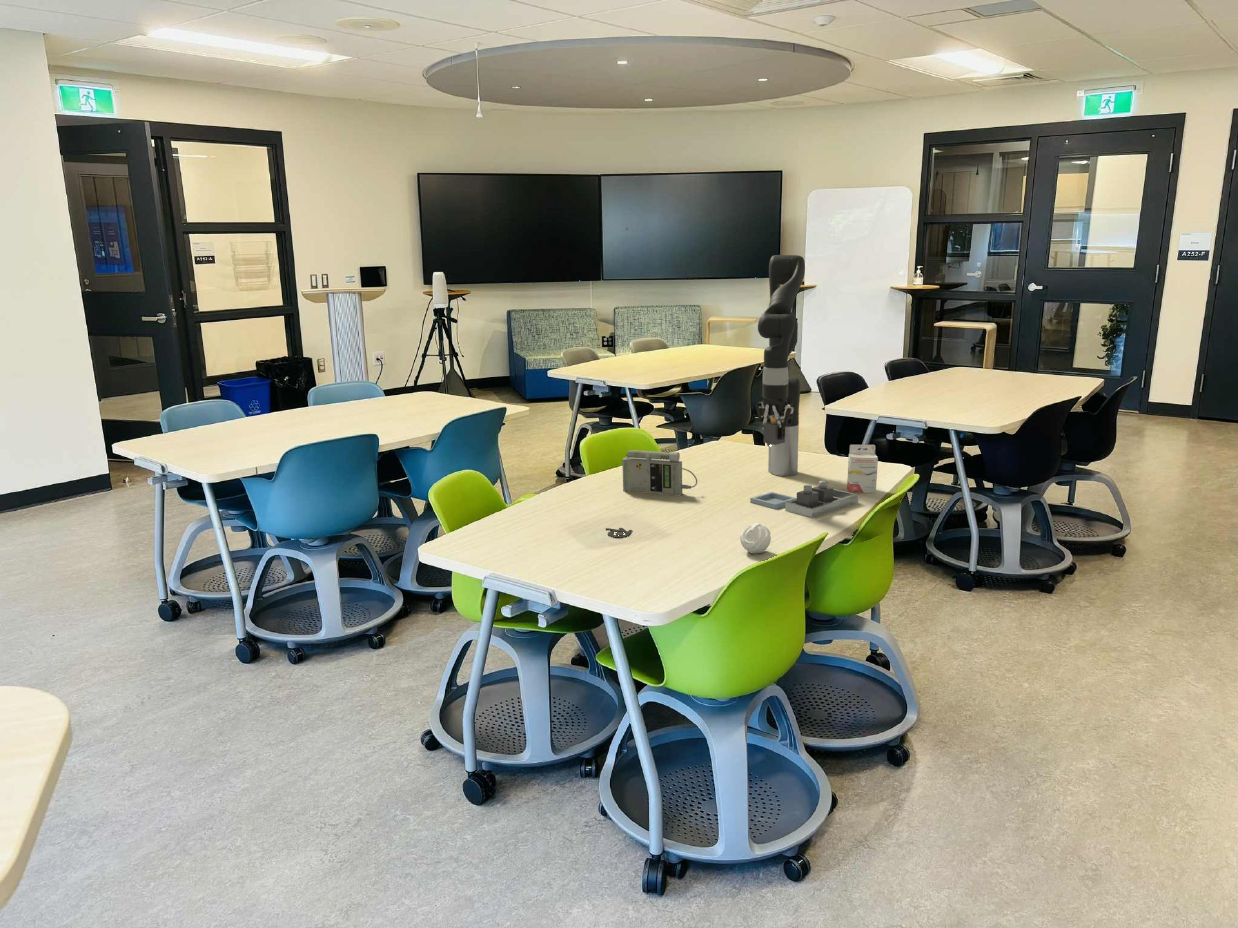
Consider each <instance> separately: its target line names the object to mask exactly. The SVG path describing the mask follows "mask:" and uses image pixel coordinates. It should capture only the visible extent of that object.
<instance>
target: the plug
mask: <svg viewBox="0 0 1238 928" xmlns="http://www.w3.org/2000/svg"><path fill="white" fill-rule="evenodd" d="M778 428H779V427H778V423H777V420H776V419H775V416H771V422H767V423H764V424H763V443H764V444H768V445H771V444H773V445H777V444H781V443H785V437H784V439H782V440H778Z"/></svg>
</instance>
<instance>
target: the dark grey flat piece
mask: <svg viewBox="0 0 1238 928" xmlns="http://www.w3.org/2000/svg"><path fill="white" fill-rule="evenodd" d="M605 529H606V530H605V531H607V530H610V531H608V532H607V536H608V537H609V536H611V537H613V538H612V539H624V538H623V537H625V538H628V537H630V536H631V535H632V533H633V530H632V529H629V530H628V531H627V530H626V529H624V528H623V527H619V528H618V529H617V528H610V527H607V528H605ZM619 529H620V530H619ZM614 532H617V533H615V534H616V535H614ZM623 532H624V533H625V535H623V534H624V533H623ZM631 532H632V533H631ZM618 535H619V536H618ZM627 536H628V537H627ZM611 537H610V538H611Z"/></svg>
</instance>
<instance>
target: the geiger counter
mask: <svg viewBox="0 0 1238 928" xmlns="http://www.w3.org/2000/svg"><path fill="white" fill-rule="evenodd" d="M680 455H681V454H680V452H679V451H678V452H677V451H670V452H666V451H665V452H664V451H663V452H662V451H649V450H634V449H633V450H632V449H631V450H630V449H629V450H628V451H627V452H626V453H625V457H623V458H622V462H621V463H622V491H623V492H630V493H631V492H632V493H641V494H643V493H644V494H654V495H665V496H677V497H679V496H682V494H683V489H685V490H688V489H689V490H691V489H692V488H694V487H696V486H697V485H698V479H697V476H696V475H695V474H694V472H692V471H691V470H689V469H687V468H684V467H683V461H682V460H680V457H681V456H680ZM683 471H686V472H689V473H690V474H691V475H692V476H693V477H694V479H695V484H694V485H690V484H689V485H688V484H683Z"/></svg>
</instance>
